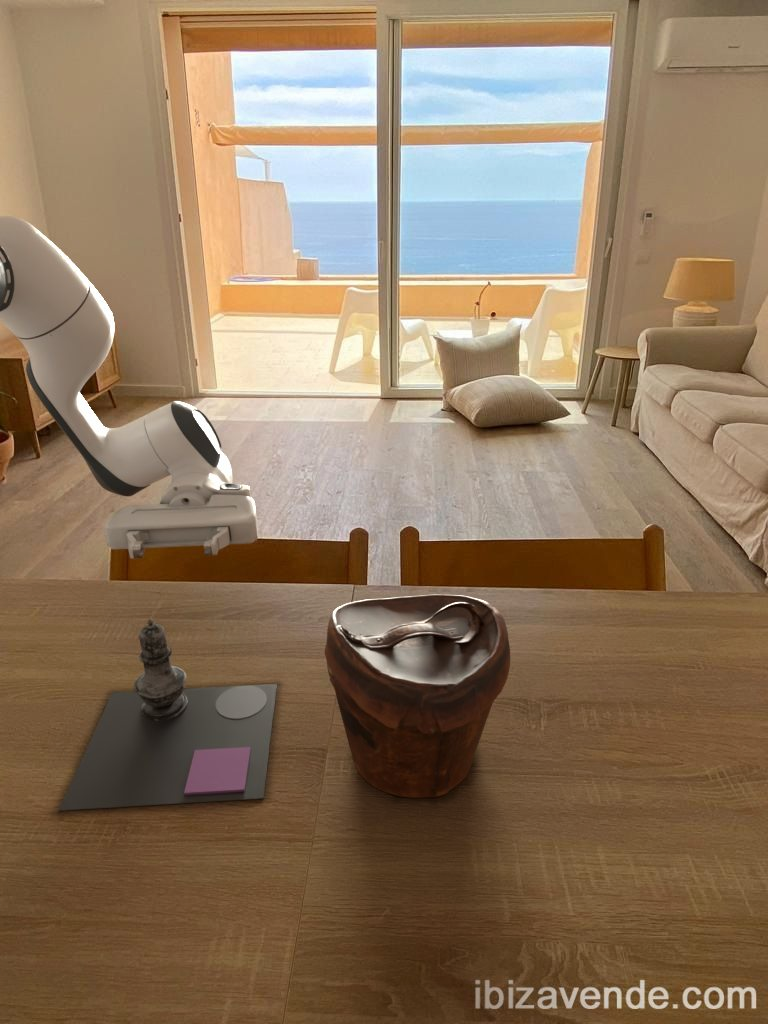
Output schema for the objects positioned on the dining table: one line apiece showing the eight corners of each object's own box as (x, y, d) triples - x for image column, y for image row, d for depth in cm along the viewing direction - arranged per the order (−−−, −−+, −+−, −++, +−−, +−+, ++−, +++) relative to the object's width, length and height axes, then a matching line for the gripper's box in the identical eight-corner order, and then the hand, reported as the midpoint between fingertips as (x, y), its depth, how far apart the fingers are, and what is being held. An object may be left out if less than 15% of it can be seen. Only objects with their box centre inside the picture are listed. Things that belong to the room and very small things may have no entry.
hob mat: (58, 811, 68) (58, 810, 68) (112, 693, 85) (111, 692, 85) (263, 798, 69) (263, 797, 69) (277, 684, 86) (276, 683, 86)
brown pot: (532, 731, 78) (545, 593, 70) (443, 860, 63) (448, 701, 55) (398, 676, 87) (398, 549, 80) (293, 777, 72) (280, 631, 64)
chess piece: (128, 718, 80) (110, 631, 75) (155, 686, 85) (140, 603, 81) (174, 726, 79) (159, 637, 74) (199, 693, 84) (186, 609, 79)
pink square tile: (184, 795, 70) (183, 793, 70) (195, 752, 75) (194, 750, 75) (244, 791, 70) (244, 789, 70) (250, 748, 76) (250, 746, 75)
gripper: (115, 490, 99) (84, 533, 86) (260, 485, 100) (249, 526, 87) (123, 530, 102) (93, 577, 89) (264, 524, 103) (254, 570, 90)
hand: (172, 552), depth 88 cm, fingers open, 8 cm apart
